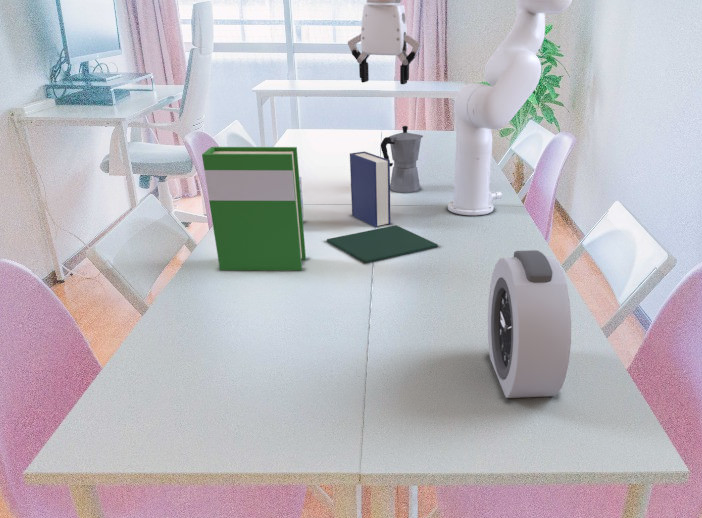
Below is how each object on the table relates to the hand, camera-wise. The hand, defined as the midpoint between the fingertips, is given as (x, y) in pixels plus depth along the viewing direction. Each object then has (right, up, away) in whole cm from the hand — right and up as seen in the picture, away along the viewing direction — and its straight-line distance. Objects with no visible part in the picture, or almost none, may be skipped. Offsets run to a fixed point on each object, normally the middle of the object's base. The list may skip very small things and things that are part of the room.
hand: (384, 82), depth 155 cm
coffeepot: (+4, -11, +46) cm, 47 cm away
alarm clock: (+23, -71, -50) cm, 90 cm away
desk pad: (-1, -37, +3) cm, 37 cm away
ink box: (-25, -30, +15) cm, 41 cm away
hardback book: (-26, -45, -9) cm, 53 cm away
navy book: (-4, -27, +19) cm, 33 cm away
